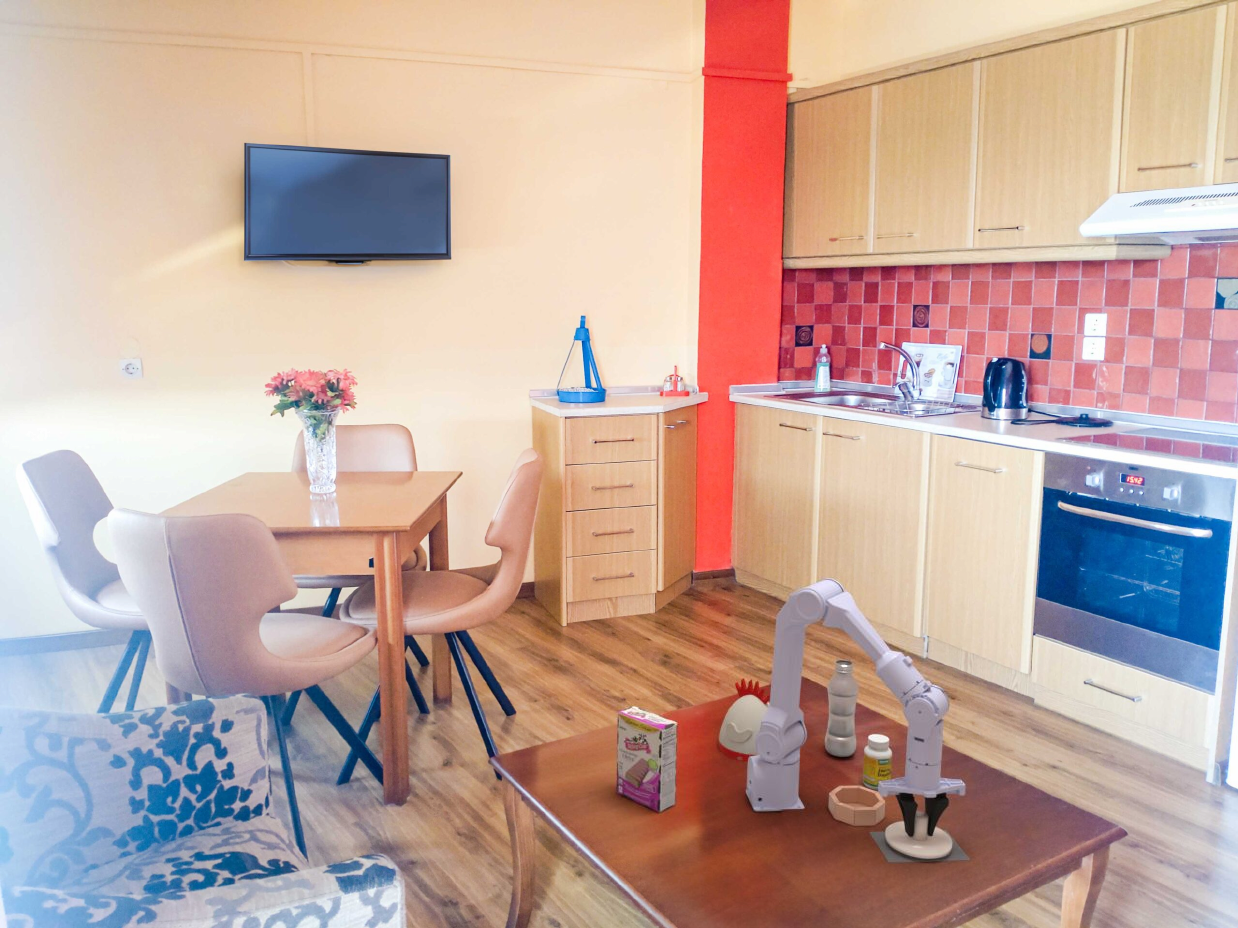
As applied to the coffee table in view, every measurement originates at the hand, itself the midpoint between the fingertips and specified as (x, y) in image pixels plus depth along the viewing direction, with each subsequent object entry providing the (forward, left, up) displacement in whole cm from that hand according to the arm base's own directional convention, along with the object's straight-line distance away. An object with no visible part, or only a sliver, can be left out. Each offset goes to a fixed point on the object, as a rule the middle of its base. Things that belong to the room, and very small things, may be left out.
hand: (918, 833), depth 166 cm
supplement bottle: (+1, +24, -3) cm, 24 cm away
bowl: (-7, +12, -3) cm, 14 cm away
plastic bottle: (-2, +38, -3) cm, 38 cm away
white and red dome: (-20, +42, -3) cm, 47 cm away
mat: (0, 0, -3) cm, 3 cm away
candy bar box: (-45, +20, -3) cm, 49 cm away
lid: (0, 0, -1) cm, 1 cm away
